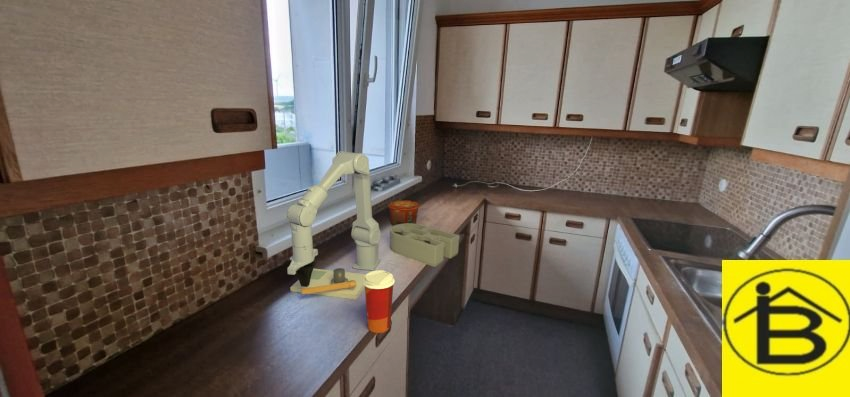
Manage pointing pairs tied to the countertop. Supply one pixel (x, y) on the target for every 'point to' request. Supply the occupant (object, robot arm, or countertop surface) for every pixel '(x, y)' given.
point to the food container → (403, 212)
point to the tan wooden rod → (329, 287)
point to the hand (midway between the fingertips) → (305, 285)
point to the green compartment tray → (423, 243)
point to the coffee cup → (378, 300)
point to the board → (325, 277)
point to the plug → (339, 276)
